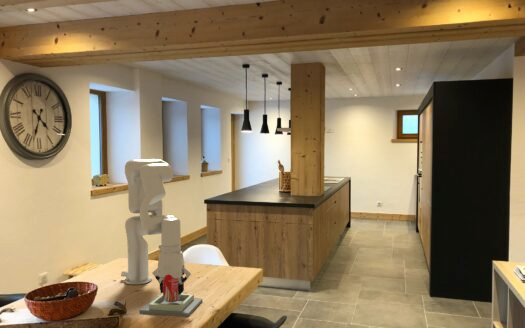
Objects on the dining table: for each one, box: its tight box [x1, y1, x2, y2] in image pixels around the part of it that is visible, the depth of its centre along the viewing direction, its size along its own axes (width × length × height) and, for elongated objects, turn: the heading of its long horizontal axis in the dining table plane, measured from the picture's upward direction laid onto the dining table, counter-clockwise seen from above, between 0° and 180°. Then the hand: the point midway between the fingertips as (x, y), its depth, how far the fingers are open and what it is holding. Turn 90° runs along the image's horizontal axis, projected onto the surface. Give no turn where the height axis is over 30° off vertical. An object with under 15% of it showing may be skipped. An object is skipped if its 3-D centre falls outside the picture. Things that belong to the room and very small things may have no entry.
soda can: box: [162, 274, 182, 303], centre depth 166 cm, size 7×7×12 cm
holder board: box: [139, 293, 203, 317], centre depth 166 cm, size 20×16×3 cm
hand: (171, 292), depth 166 cm, fingers closed on soda can, 7 cm apart
